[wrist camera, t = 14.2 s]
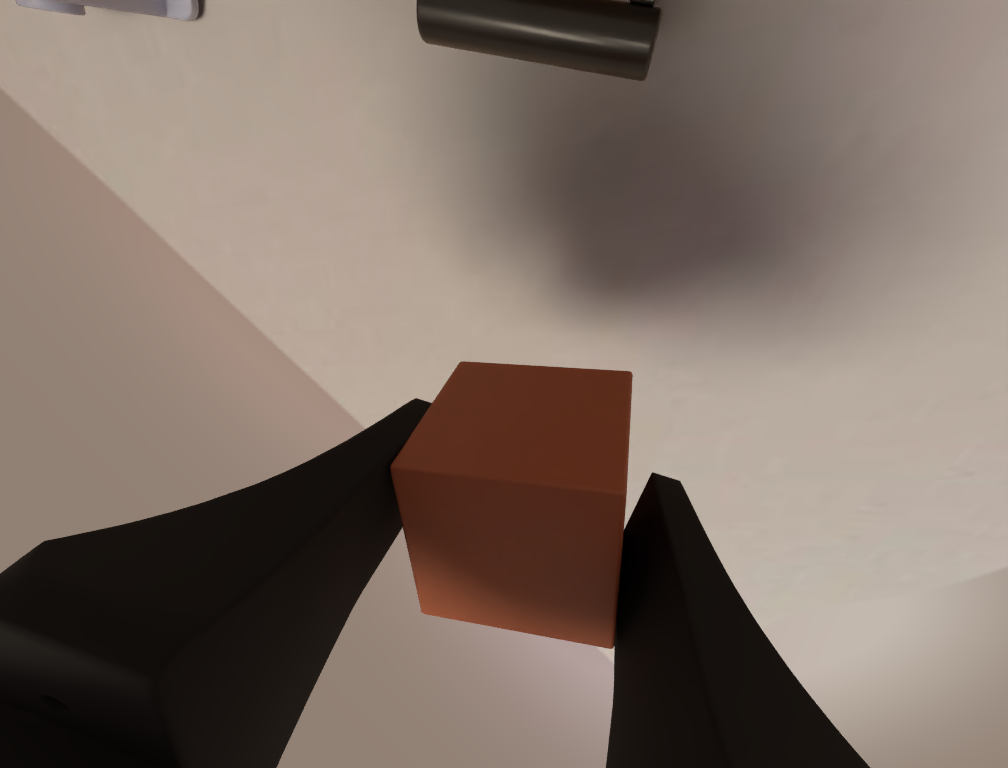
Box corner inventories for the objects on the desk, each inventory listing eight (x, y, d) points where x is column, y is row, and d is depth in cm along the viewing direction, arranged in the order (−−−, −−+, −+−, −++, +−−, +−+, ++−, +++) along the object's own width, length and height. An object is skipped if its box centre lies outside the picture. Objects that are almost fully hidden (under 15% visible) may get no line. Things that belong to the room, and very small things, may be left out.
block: (622, 506, 13) (614, 651, 10) (474, 488, 14) (420, 615, 11) (632, 370, 11) (626, 493, 8) (459, 360, 12) (387, 466, 9)
